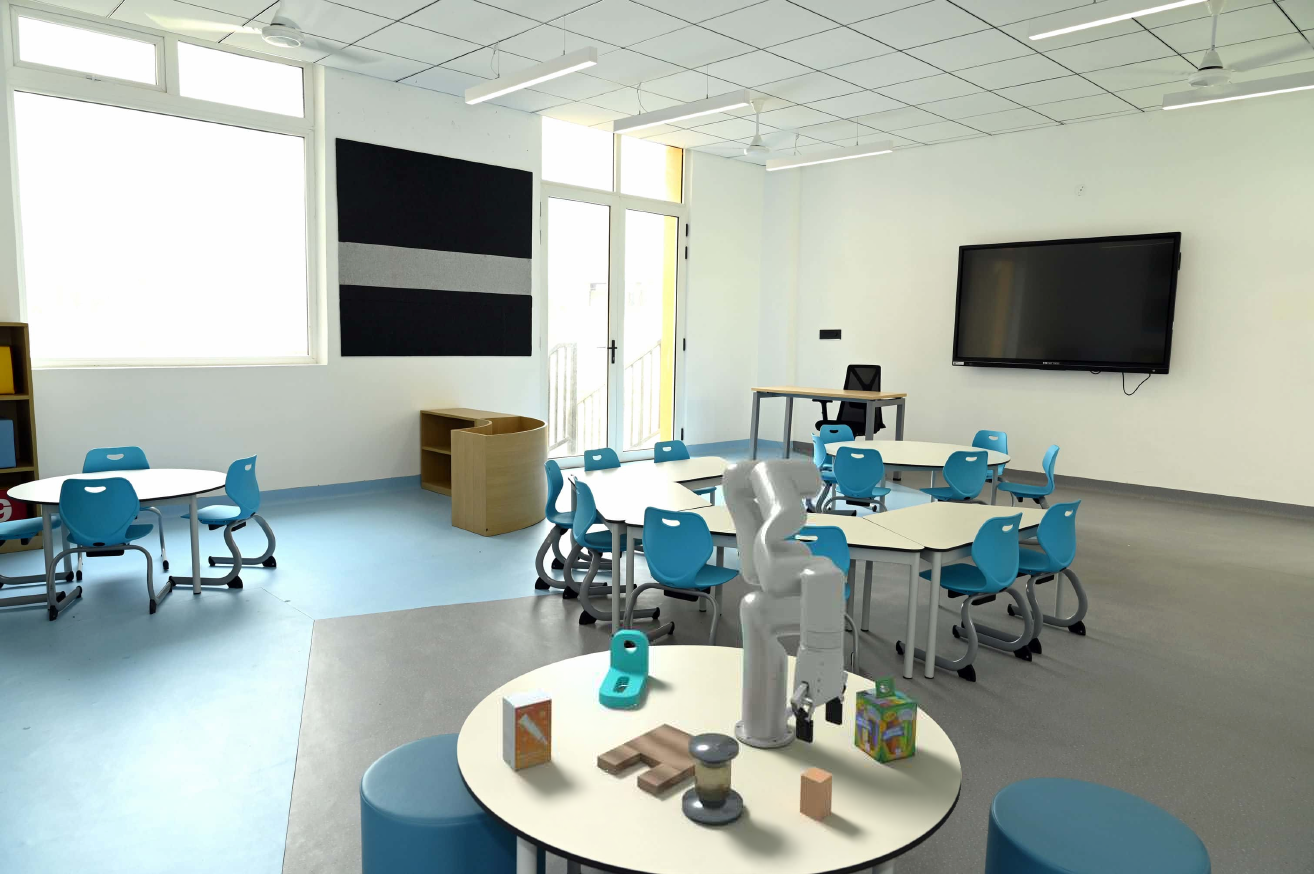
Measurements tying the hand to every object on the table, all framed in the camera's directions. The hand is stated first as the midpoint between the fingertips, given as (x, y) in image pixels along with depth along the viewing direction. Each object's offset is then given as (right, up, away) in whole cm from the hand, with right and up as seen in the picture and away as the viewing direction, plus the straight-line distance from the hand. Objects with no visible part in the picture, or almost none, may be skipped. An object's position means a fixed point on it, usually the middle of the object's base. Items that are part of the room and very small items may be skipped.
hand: (819, 731), depth 144 cm
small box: (-55, -13, +19) cm, 60 cm away
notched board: (-28, -13, +19) cm, 36 cm away
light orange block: (0, -15, +2) cm, 15 cm away
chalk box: (+19, -13, +25) cm, 34 cm away
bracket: (-37, -10, +54) cm, 66 cm away
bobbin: (-19, -15, +3) cm, 24 cm away
